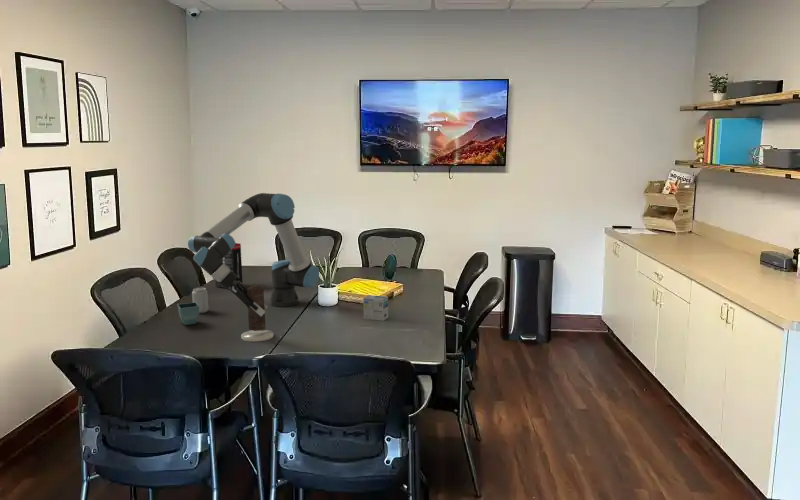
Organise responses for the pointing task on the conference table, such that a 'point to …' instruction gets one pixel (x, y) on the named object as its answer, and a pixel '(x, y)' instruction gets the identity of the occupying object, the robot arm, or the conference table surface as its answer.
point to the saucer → (257, 335)
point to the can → (201, 299)
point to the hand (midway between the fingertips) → (264, 311)
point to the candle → (254, 318)
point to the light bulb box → (375, 307)
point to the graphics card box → (233, 263)
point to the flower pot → (188, 312)
